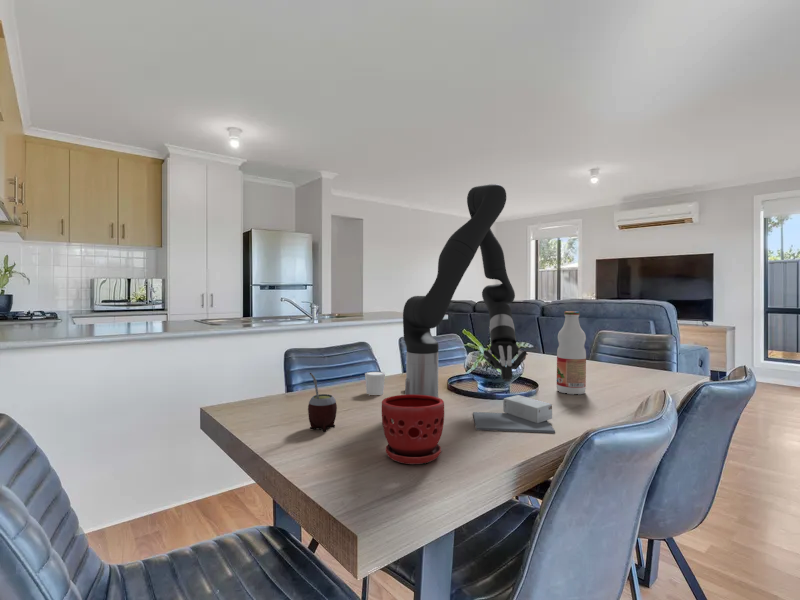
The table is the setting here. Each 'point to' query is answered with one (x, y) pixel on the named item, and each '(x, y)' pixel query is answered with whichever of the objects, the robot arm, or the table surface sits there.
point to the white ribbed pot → (374, 383)
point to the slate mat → (509, 423)
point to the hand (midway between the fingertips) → (507, 379)
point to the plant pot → (413, 427)
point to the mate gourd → (321, 410)
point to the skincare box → (528, 408)
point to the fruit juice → (571, 356)
